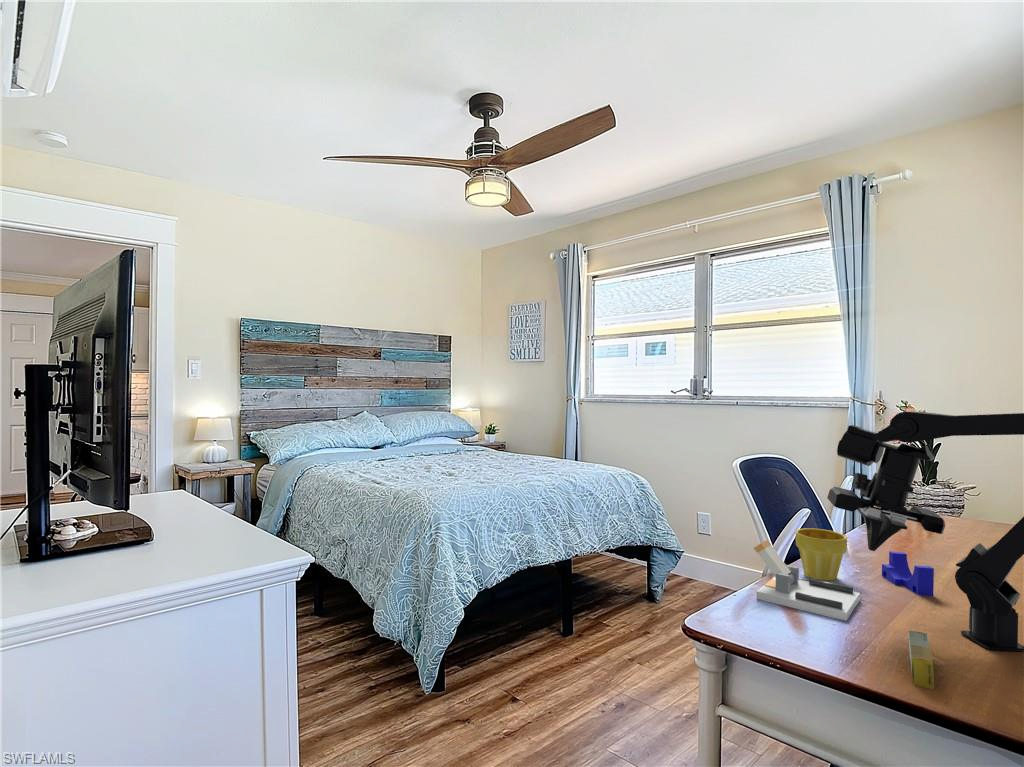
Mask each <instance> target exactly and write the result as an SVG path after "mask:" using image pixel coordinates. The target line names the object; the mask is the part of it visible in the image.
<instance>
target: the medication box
mask: <svg viewBox="0 0 1024 767" xmlns="http://www.w3.org/2000/svg"><path fill="white" fill-rule="evenodd" d="M908 650H909V659H910V660H909V661H910V671H911V680H912V685H914V686H917V687H918V686H919V687H922V688H926V689H931V690H935V679H934V678H935V676H934V662H933V657H932V650H931V646H930V641H929V636H928V633H925V632H921V631H914V630H908Z"/></svg>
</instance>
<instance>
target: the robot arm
mask: <svg viewBox="0 0 1024 767" xmlns="http://www.w3.org/2000/svg"><path fill="white" fill-rule="evenodd" d="M1011 435H1013V436H1016V435H1017V436H1019V435H1021V436H1023V435H1024V412H1017V413H1016V412H1014V413H992V414H990V413H989V414H988V413H986V414H963V415H952V414H944V413H937V412H927V411H918V410H917V411H916V410H915V411H912V410H911V411H901V412H898V413H896V414H895V415H894V416H893V417H892V418H891V420H890V422H889V425H887V426H886V427H884V428H883V429H881V430H878V432H874V431H871V430H868V429H864V428H862V427H860V426H857V425H853V424H851V425H848V427H847V429H846V431H845V432H844V433H843V435H842V437H841V439H840V440H839V441H838V444H837V449H836V453H837V456H838V457H840V458H844V459H847V460H850V461H852V462H855V463H857V464H862V465H864V466H867V467H870V466H872V464H873V463H875V464H878V463H879V462H880V464H879V467H878V470H877V472H875V473H874V474H873V477H872V479H869V478H868V475H867V474H864V473H860V472H855V473H854V476H853V478H852V480H851V488H852V489H855V490H859V491H860V492H859V495H857V493H855V491H853V490H850V489H846V488H841V487H838V486H833V487H831V488H830V489H829V491H828V494H827V497H826V499H828V501H829V502H830V504H832V506H833V507H834V508H837V509H840V510H844V511H847V512H855V511H857V512H858V513H859V514H860V515H861V516H862V517H863V518H864V522H865V527H866V537H867V538H866V540H867V549H868V550H869V551H870V552H871V551H872V552H875V551H876V550H878V549H879V548H880V547H881V546H882V545H883V544H884V543H885V542H887V540H889V538H891V537H892V536H894V535H895V534H897V533H898V532H899V531H901V530H907V529H908V528H909V527H908V525H906V522H907V521H912V522H915V523H919V524H920V526H921V527H922V529H923V530H924V531H927V532H930V533H935V534H939V535H943V534H944V530H945V527H946V522H945V520H944V518H943V517H942V516H941V515H940V514H938V513H937V512H935V511H934V510H931V509H927V508H923V507H920V506H914V505H913V506H912V507H911V508H909V509H908V508H907V507H906V504H907V500H908V497H909V494H911V493H912V494H913V492H914V489H915V488H914V486H913V482H914V479H915V476H916V474H917V470H918V467H919V464H920V461H921V460H922V461H926V462H929V461H934V460H935V458H936V457H935V455H934V454H933V452H931V451H930V448H929V446H928V445H925V446H924V445H922V446H921V447H918V446H917V447H916V446H913V445H911V444H909V443H917V442H921V441H922V442H923V441H929V440H936V439H942V438H947V437H957V436H958V437H961V436H963V437H964V436H970V437H971V436H1011ZM895 441H899V442H901V444H899V445H898V446H897V445H893V444H889V442H895ZM907 443H908V444H907ZM880 460H881V461H880ZM859 496H860V497H859ZM867 498H868V499H867ZM1023 556H1024V516H1023V517H1021V519H1020V520H1019V521H1017V522H1016V523H1015V524H1014V525H1013V526H1012V528H1010V529H1009V530H1008V531H1007V532H1006V533H1005V534H1004V535H1003V536H1002V537H1001V538H999V540H998V541H997V542H996V543H994V544H993V545H991V546H990V547H988V548H986V547H985V546H984V545H983V544H982V543H980V542H979V543H977V544H976V545H975V546H974V547H972V548H971V549H970V551H969V553H968V554H967V555H966V556H965V557H963V558H962V559H960V560H959V561H958V562H957V563H956V564H955V566H956V567H958V569H957V570H956V571H955V574H954V578H955V583H956V585H957V587H958V589H959V590H960V591H961V592H962V593H963V594H966V597H967V600H968V602H969V605H970V606H969V619H968V620H969V622H968V623H969V624H968V629H969V630H961V631H960V634H961V635H963V636H965V637H966V638H968V639H969V640H971V641H973V642H974V643H977V644H978V645H980V646H981V647H983V648H985V649H987V650H990V651H1013V652H1014V651H1015V652H1016V651H1017V652H1018V651H1019V652H1024V645H1023V644H1021V643H1019V613H1018V612H1017V610H1016V609H1015V608H1014V606H1015V605H1016V604H1017V602H1018V600H1020V597H1021V593H1020V592H1019V591H1018V590H1017V589H1016V588H1015V587H1014V586H1013V585H1012V584H1011V583H1009V582H1008V580H1007V579H1008V577H1009V575H1010V574H1011V572H1012V571H1013V569H1014V567H1016V564H1017V563H1018V561H1019V559H1021V558H1022V557H1023Z"/></svg>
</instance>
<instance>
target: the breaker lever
mask: <svg viewBox="0 0 1024 767" xmlns="http://www.w3.org/2000/svg"><path fill="white" fill-rule="evenodd" d="M753 550H754V551H755V552H756V553H757V554H758V555H759V557H760V559H762V561H763V563H764V564H765V565H766V567H767V568H768V569H769V571H770V573H771V574H772V575H773V577H775V578H776V573H782V574H786V575H790V584H791V583H792V582H793V581H794V580H795V576H794V574H792V573H790V572H791V571H790V570H789V568H788V567H787V566H786V565H787V564H786V563H785V561H783V559H782V558H781V556H780V555H779V554H778V552H777V551H776V550H775V548H774V547H773V545H772V544H771V542H770V541H769V540H768V539H766V540H764V541H762V542H761V543H759V544H757V545H756V546H755V547H753Z"/></svg>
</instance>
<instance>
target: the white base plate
mask: <svg viewBox="0 0 1024 767" xmlns="http://www.w3.org/2000/svg"><path fill="white" fill-rule="evenodd" d="M786 566H787V567H788V568H789V570H790V571H791V572H790V573H792V574H794V576H795V580H794V581H793V582H792V583H791V584H790V575H786V574H782V573H776V578H775V576H773V577H772V578H770V579H769V581H767V582H766V583H765V584H764V585H763V586H761V587H760V588H759V589H757V590H756V597H755V598H756V600H760V601H764V602H768V603H772V604H776V605H780V606H784V607H788V608H792V609H796V610H801V611H804V612H809V613H812V614H818V615H821V616H825V617H829V618H833V619H838V620H841V621H846V622H847V621H848V619H849V617H850V616H851V614H852V612H854V610H855V608H856V606H858V604H859V602H860V600H861V593H860V592H858V591H854V589H855V588H854V587H852V586H848V585H843V584H838V583H834V582H830V581H824V580H817V579H813V578H809V579H808V581H806V580H803V579H799V578H800V577H799V576H800V575H799V574H800V570H799V569H800V567H799V566H794V565H789V564H786Z"/></svg>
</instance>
